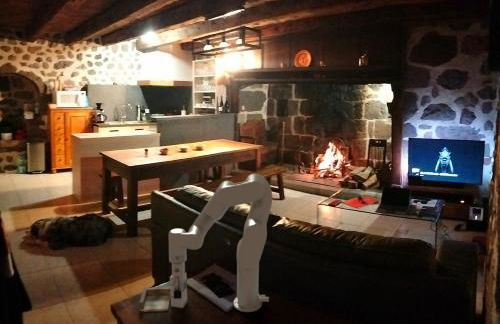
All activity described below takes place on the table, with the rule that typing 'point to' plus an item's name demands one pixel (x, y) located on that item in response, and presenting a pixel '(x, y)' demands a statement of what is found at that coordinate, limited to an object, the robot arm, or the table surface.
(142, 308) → the board
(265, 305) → the table surface
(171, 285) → the syrup box
